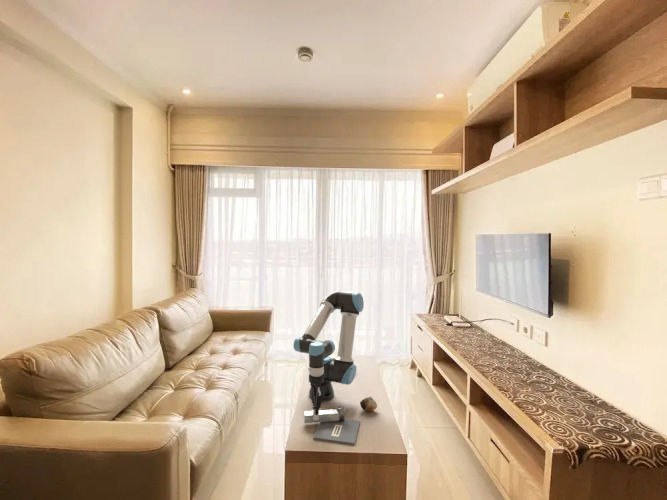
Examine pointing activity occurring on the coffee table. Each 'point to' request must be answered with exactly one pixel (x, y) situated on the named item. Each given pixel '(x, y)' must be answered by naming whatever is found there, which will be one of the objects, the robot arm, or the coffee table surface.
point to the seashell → (368, 404)
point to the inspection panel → (338, 431)
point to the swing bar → (326, 415)
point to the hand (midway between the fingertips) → (315, 419)
